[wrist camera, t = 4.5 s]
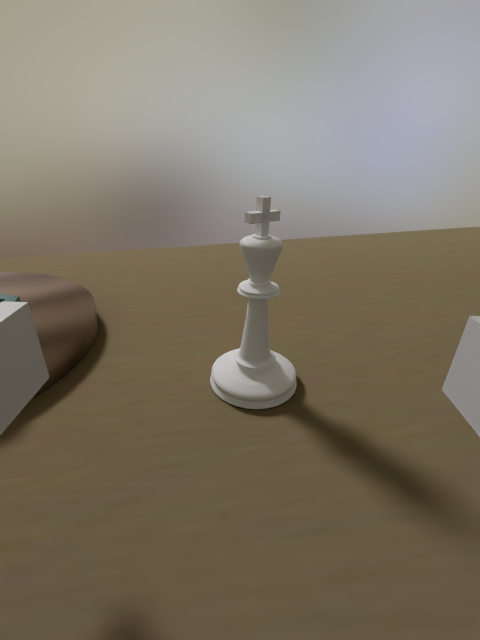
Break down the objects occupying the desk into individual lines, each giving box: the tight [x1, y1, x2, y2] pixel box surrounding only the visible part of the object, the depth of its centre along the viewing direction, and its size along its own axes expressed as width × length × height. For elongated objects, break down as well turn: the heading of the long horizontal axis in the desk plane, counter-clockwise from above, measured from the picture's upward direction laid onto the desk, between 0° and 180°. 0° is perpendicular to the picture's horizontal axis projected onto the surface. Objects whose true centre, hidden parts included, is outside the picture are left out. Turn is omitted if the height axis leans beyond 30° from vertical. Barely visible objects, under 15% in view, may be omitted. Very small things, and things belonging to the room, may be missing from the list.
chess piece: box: [210, 196, 297, 409], centre depth 17 cm, size 5×5×10 cm
